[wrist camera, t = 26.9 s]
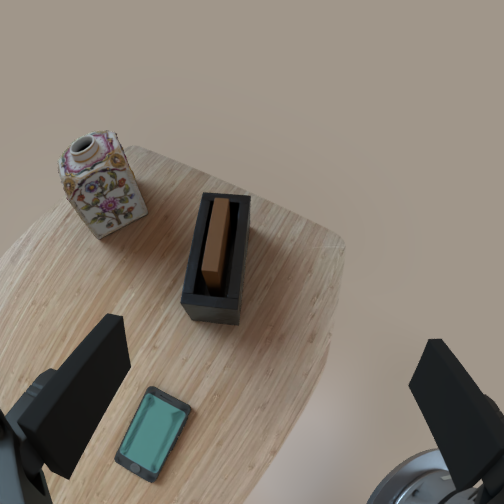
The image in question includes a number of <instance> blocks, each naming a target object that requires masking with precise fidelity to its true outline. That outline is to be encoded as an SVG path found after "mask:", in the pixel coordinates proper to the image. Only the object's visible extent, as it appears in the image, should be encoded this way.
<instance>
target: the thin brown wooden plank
mask: <svg viewBox="0 0 504 504" xmlns="http://www.w3.org/2000/svg"><path fill="white" fill-rule="evenodd" d="M231 242H232V235H231V221H230V207H229V199H225V198H215V200H214V205H213V210H212V215H211V220H210V225H209V231H208V236H207V241H206V247H205V252H204V258H203V264H202V273H203V276H204V279H205V282H206V285H207V288H208V292H209V294H210V296H215V297H224V294H225V286H226V279H227V271H228V264H229V256H230V249H231Z"/></svg>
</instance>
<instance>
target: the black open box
mask: <svg viewBox="0 0 504 504" xmlns="http://www.w3.org/2000/svg"><path fill="white" fill-rule="evenodd" d="M215 198H225V199H229V207H230V221H231V235H232V242H231V249H230V256H229V264H228V271H227V279H226V286H225V294H224V297H215V296H210V294H209V292H208V288H207V285H206V282H205V279H204V276H203V273H202V264H203V258H204V252H205V247H206V241H207V236H208V231H209V225H210V220H211V215H212V210H213V205H214V200H215ZM250 202H251V196H246V195H233V194H219V193H204V192H203V194H202V199H201V203H200V208H199V212H198V216H197V221H196V226H195V230H194V235H193V240H192V245H191V249H190V254H189V259H188V265H187V270H186V275H185V280H184V286H183V291H182V297H181V302H180V303H181V305H182V306H183V308H184V309H185V311H186V312H187V314H188V315H189V317H190V318H191V320H194V321H202V322H211V323H219V324H229V325H238V326H239V320H240V311H241V302H242V293H243V283H244V274H245V265H246V256H247V247H248V238H249V229H250Z"/></svg>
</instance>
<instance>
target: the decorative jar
mask: <svg viewBox="0 0 504 504" xmlns="http://www.w3.org/2000/svg"><path fill="white" fill-rule="evenodd" d="M58 173H59V176H60V179H61V182H62V184H63V188H64V191H65V193H66V196H67V200H69V202H70V203H71V205H72V206H73V207H74V209H75V210H76V212H77V213H78V215H79V216H80V218H81V219H82V220H83V222H84V223H85V224H86V226H87V227H88V228H89V230H90V231H91V232H92V233H93V235H94V236H95V237H96V238H97V239H101V238H103V237H105V236H106V235H108V234H110V233H112V232H114V231H116V230H118V229H120V228H122V227H124V226H125V225H127V224H129V223H131V222H133V221H135V220H137V219H139V218H141V217H143V216H145V215H146V214H147V213H148V210H147V208H146V205H145V203H144V200H143V198H142V196H141V193H140V191H139V189H138V186H137V184H136V181H135V176H134V173H133V171H132V170H131V168H130V166H129V164H128V161H127V159H126V156H125V154H124V150H123V147H122V146H121V144H120V143H119V140H118V137H117V134H116V133H115V132H111V131H93V132H91V133H89V134H87V135H84V136H82V137H80V138H78V139H77V140H75V141H74V142H72V144H71V145H70V146H69V147H68V148H67V149H66V150H65V151H64V153H63V154H62V156H61V157H60V158H59V160H58Z"/></svg>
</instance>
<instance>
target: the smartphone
mask: <svg viewBox="0 0 504 504" xmlns="http://www.w3.org/2000/svg"><path fill="white" fill-rule="evenodd" d="M190 411H191V407H190V406H189V405H188V404H186V403H184V402H182V401H180V400H178V399H176V398H174V397H172V396H170V395H169V394H167V393H165V392H163V391H161V390H159V389H158V388H156V387H153V386H150V387H148V388H147V391H146V393H145V395H144V397H143V399H142V401H141V403H140V405H139V407H138V409H137V411H136V413H135V415H134V417H133V419H132V421H131V424H130V426H129V428H128V430H127V432H126V434H125V436H124V438H123V440H122V443H121V445H120V447H119V449H118V451H117V453H116V456H115V458H114V459H115V461H116V463H118V464H120V465H121V466H123V467H124V468H126V469H128V470H129V471H131V472H133V473H134V474H136V475H138V476H139V477H141V478H143V479H145V480H146V481H148V482H151V483H152V482H154V481H156V479H157V477H158V475H159V473H160V471H161V469H162V467H163V465H164V463H165V461H166V459H167V457H168V455H169V453H170V451H172V450H173V448H174V446H175V444H176V442H177V440H178V436H180V434H181V432H182V430H183V427H184V426H185V423H186V421H187V419H188V415H189V413H190Z"/></svg>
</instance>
